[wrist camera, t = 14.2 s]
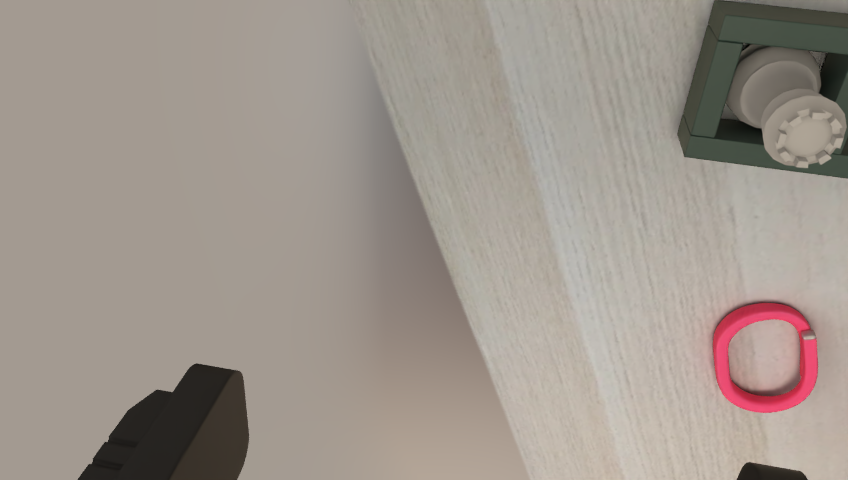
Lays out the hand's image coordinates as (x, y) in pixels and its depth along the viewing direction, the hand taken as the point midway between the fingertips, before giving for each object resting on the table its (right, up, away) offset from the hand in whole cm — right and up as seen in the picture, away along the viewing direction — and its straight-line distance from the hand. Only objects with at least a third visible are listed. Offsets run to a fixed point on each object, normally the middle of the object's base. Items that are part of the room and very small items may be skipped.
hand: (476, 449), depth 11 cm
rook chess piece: (+17, +12, +25) cm, 32 cm away
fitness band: (+21, -4, +34) cm, 40 cm away
